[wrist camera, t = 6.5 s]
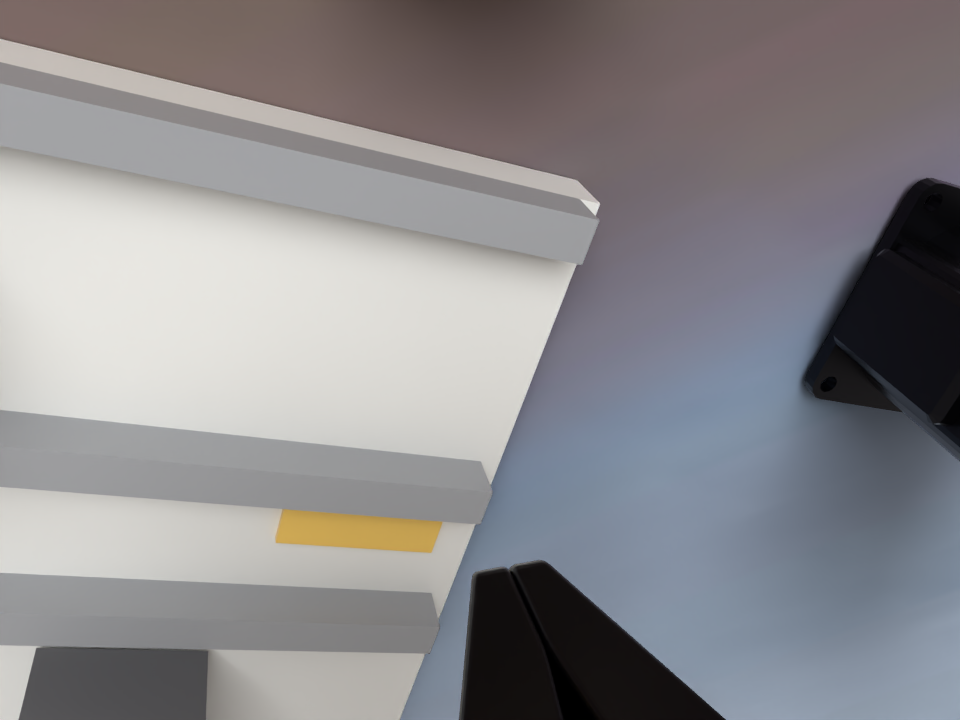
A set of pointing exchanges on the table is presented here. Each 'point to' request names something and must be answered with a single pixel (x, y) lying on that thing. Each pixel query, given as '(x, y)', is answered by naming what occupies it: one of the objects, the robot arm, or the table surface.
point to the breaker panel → (253, 380)
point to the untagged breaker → (116, 685)
